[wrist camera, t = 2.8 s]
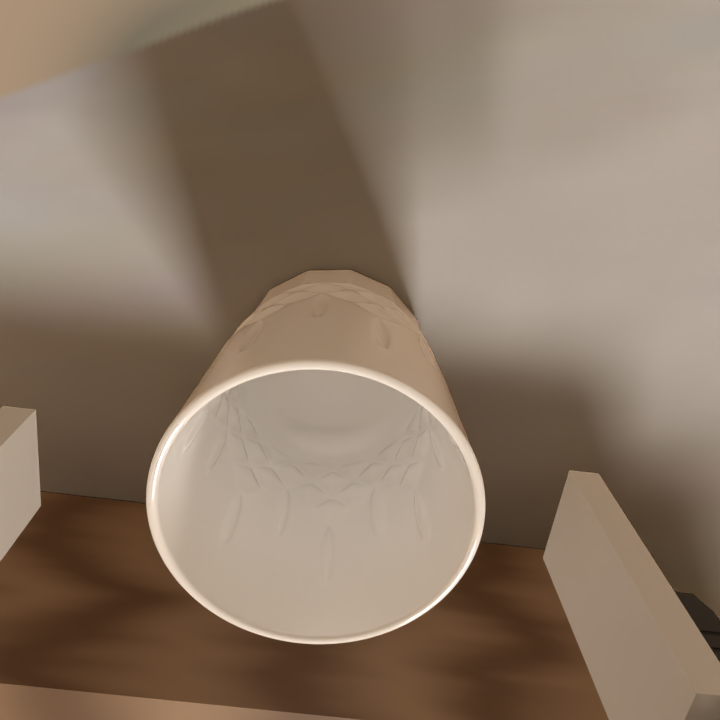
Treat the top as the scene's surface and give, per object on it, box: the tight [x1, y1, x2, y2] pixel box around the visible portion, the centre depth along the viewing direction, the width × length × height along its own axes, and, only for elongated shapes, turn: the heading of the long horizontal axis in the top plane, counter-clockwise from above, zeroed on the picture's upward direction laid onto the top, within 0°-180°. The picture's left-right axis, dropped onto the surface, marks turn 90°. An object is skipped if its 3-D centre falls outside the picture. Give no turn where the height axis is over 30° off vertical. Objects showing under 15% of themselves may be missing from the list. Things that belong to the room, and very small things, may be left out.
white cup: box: [146, 270, 485, 644], centre depth 20 cm, size 8×8×10 cm
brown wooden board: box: [0, 491, 609, 720], centre depth 24 cm, size 28×2×9 cm, turn 82°
